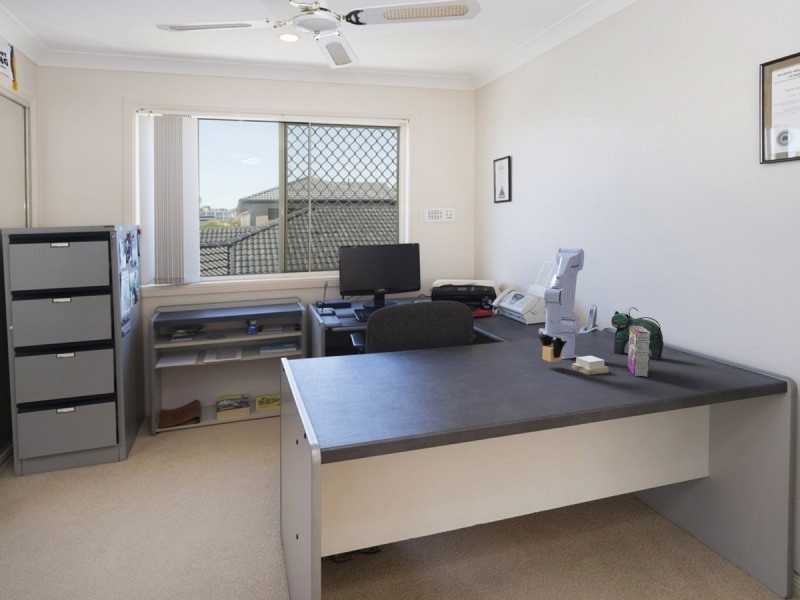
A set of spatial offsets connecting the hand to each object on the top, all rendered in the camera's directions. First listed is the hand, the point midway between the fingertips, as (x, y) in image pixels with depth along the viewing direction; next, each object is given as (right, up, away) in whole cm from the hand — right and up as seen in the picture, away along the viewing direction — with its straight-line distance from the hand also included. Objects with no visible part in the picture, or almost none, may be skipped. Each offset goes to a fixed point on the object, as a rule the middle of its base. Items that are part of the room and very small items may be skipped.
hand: (552, 355), depth 197 cm
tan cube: (0, -2, 0) cm, 2 cm away
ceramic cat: (+40, -2, +19) cm, 44 cm away
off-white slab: (+13, -3, -3) cm, 14 cm away
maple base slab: (+13, -6, -3) cm, 15 cm away
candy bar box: (+29, -6, -6) cm, 31 cm away
